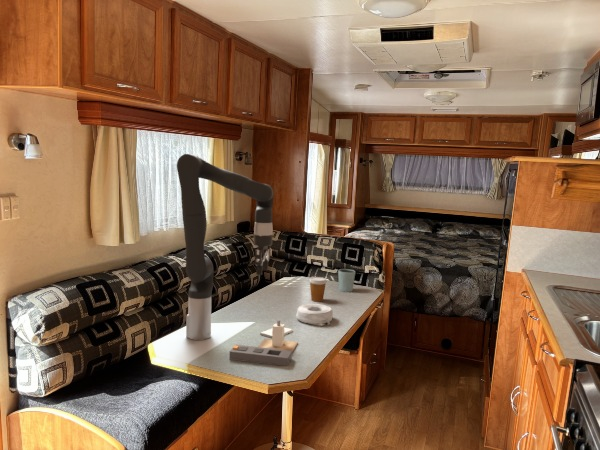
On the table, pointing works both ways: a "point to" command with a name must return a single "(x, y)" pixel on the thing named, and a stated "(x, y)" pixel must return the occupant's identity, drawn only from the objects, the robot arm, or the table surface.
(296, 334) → the table surface
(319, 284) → the disposable coffee cup
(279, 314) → the table surface
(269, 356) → the power strip
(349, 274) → the pale teal cup
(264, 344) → the cork mat
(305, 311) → the cable
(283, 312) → the table surface
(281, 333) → the charger
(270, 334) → the external hard drive
